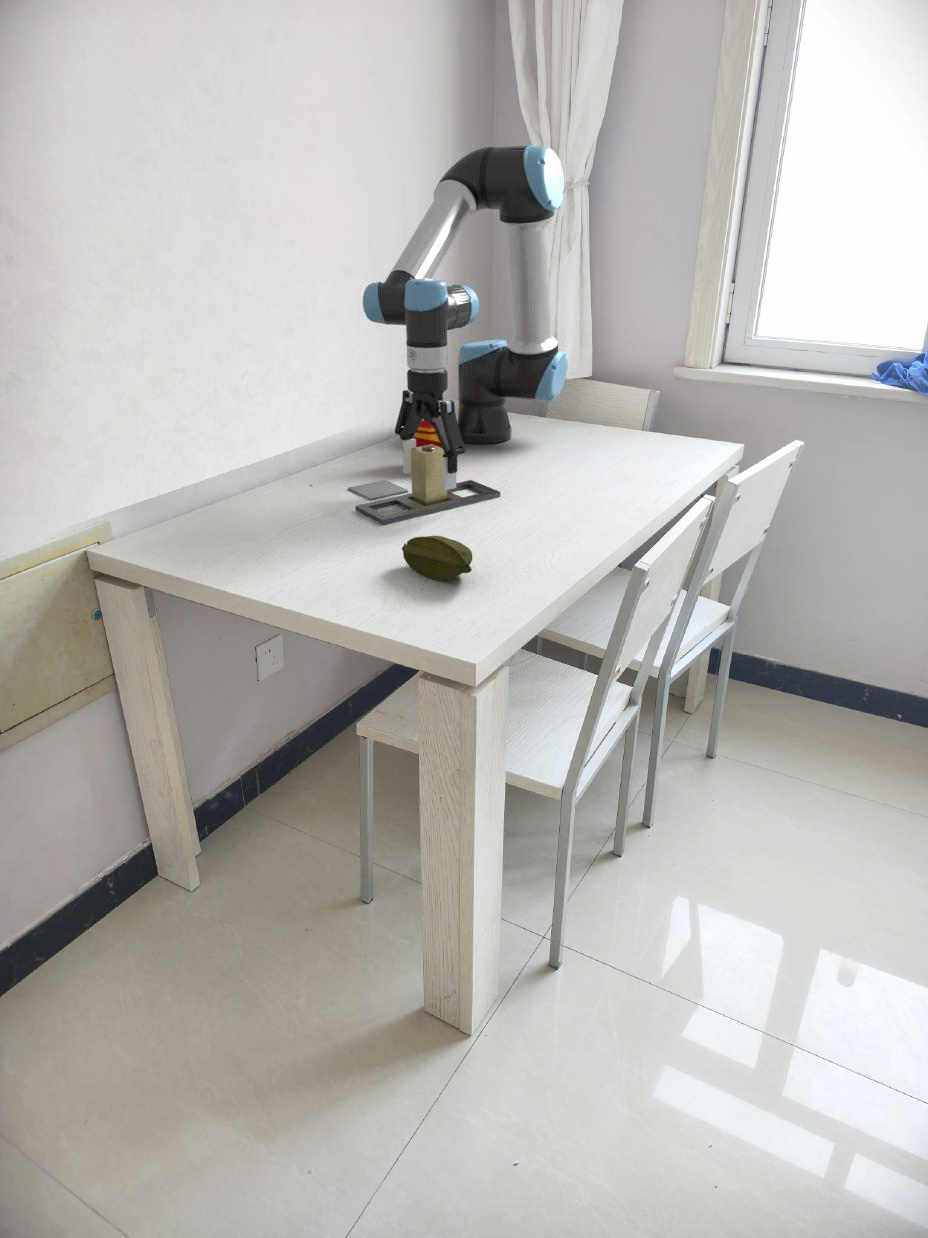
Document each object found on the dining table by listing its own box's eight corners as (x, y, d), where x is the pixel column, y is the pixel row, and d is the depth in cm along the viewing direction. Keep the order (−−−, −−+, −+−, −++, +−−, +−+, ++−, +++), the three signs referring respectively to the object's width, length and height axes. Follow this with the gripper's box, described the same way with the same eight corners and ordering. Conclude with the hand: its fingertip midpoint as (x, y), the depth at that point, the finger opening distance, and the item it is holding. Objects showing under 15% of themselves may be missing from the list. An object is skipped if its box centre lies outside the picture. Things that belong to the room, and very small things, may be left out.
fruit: (471, 561, 142) (472, 524, 139) (472, 591, 132) (472, 551, 129) (403, 561, 142) (402, 524, 139) (398, 591, 132) (397, 551, 129)
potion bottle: (458, 463, 194) (458, 396, 187) (453, 476, 185) (453, 407, 178) (413, 461, 195) (411, 395, 188) (406, 475, 186) (404, 405, 179)
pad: (348, 489, 177) (348, 487, 177) (385, 481, 182) (385, 479, 181) (370, 500, 170) (370, 498, 170) (408, 492, 175) (408, 490, 175)
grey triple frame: (355, 510, 165) (355, 505, 164) (470, 484, 180) (470, 479, 179) (382, 525, 158) (382, 519, 157) (500, 496, 173) (500, 491, 172)
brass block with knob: (412, 502, 169) (410, 446, 164) (432, 497, 172) (431, 442, 167) (426, 509, 166) (425, 452, 161) (447, 504, 168) (446, 448, 163)
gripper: (374, 361, 164) (379, 468, 174) (450, 381, 146) (450, 500, 156) (407, 357, 168) (410, 462, 178) (484, 376, 150) (483, 492, 160)
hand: (429, 480), depth 167 cm, fingers open, 13 cm apart
